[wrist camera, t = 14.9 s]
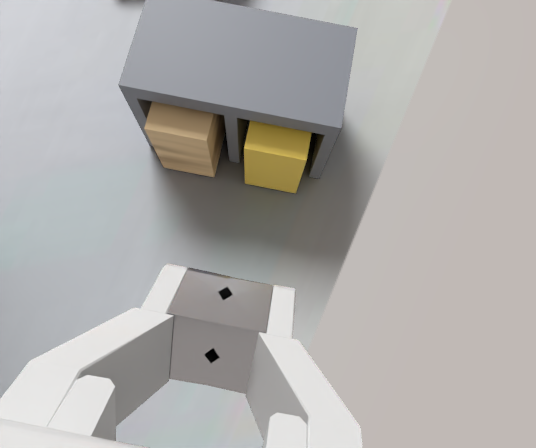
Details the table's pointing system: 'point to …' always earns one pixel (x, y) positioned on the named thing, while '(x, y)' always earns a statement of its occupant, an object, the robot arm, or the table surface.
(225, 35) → the grey slotted holder
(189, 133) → the light wood block
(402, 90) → the table surface
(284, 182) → the yellow rectangular block
